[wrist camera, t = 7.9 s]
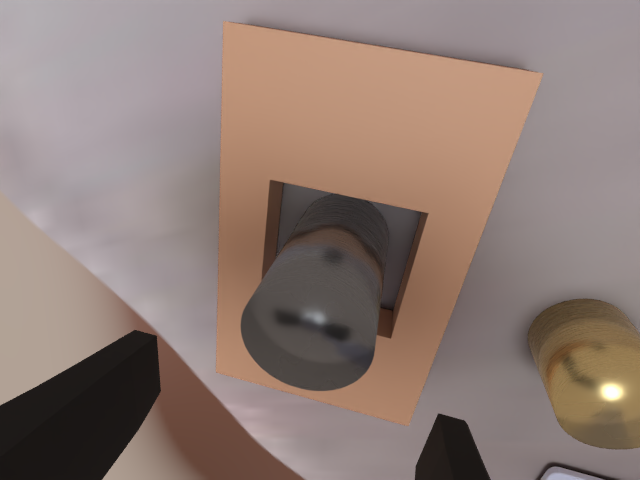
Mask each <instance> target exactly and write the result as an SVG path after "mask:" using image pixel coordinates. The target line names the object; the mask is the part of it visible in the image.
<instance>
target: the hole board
mask: <svg viewBox="0 0 640 480" xmlns="http://www.w3.org/2000/svg"><path fill="white" fill-rule="evenodd" d="M542 76H543V73H538V72H534V71H529V70H525V69H518V68H512V67H506V66H500V65H494V64H488V63H482V62H476V61H469V60H463V59H457V58H451V57H445V56H439V55H433V54H427V53H420V52H414V51H408V50H402V49H396V48H390V47H384V46H378V45H372V44H365V43H359V42H353V41H347V40H341V39H335V38H329V37H323V36H316V35H310V34H304V33H298V32H292V31H286V30H280V29H274V28H268V27H261V26H255V25H249V24H242V23H234V22H226V21H223V60H222V108H221V156H220V205H219V253H218V302H217V350H216V373H220V374H224V375H227V376H231V377H234V378H238V379H241V380H245V381H249V382H252V383H256V384H259V385H263V386H266V387H270V388H274V389H277V390H281V391H284V392H288V393H291V394H295V395H299V396H302V397H306V398H309V399H313V400H316V401H320V402H323V403H327V404H331V405H334V406H338V407H341V408H345V409H348V410H352V411H356V412H359V413H363V414H366V415H370V416H373V417H377V418H381V419H384V420H388V421H391V422H395V423H398V424H402V425H406V426H409V423H410V421H411V418H412V415H413V413H414V410H415V408H416V405H417V402H418V400H419V397H420V395H421V392H422V389H423V387H424V384H425V382H426V379H427V376H428V374H429V371H430V369H431V366H432V363H433V361H434V358H435V355H436V353H437V350H438V348H439V345H440V342H441V340H442V337H443V335H444V332H445V329H446V327H447V324H448V322H449V319H450V316H451V314H452V311H453V309H454V306H455V303H456V301H457V298H458V295H459V293H460V290H461V288H462V285H463V282H464V280H465V277H466V275H467V272H468V269H469V267H470V264H471V262H472V259H473V256H474V254H475V251H476V249H477V246H478V243H479V241H480V238H481V235H482V233H483V230H484V228H485V225H486V222H487V220H488V217H489V215H490V212H491V209H492V207H493V204H494V202H495V199H496V196H497V194H498V191H499V189H500V186H501V183H502V181H503V178H504V175H505V173H506V170H507V168H508V165H509V162H510V160H511V157H512V155H513V152H514V149H515V147H516V144H517V142H518V139H519V136H520V134H521V131H522V129H523V126H524V123H525V121H526V118H527V115H528V113H529V110H530V108H531V105H532V102H533V100H534V97H535V95H536V92H537V89H538V87H539V84H540V82H541V79H542ZM283 182H284V183H289V184H293V185H298V186H303V187H307V188H312V189H317V190H321V191H326V192H331V193H336V194H340V195H345V196H350V197H354V198H359V199H364V200H369V201H373V202H378V203H383V204H387V205H392V206H397V207H401V208H406V209H411V210H416V211H420V212H422V213H421V217H420V220H419V224H418V227H417V230H416V234H415V237H414V241H413V244H412V248H411V251H410V254H409V258H408V261H407V265H406V268H405V272H404V275H403V278H402V282H401V285H400V289H399V292H398V296H397V299H396V303H395V306H394V309H393V311H391V310H387V309H383V308H380V312H379V320H378V329H377V337H376V345H375V352H374V358H373V361H372V363H371V365H370V367H369V369H368V370H367V372H366V373H365V374H364V375H363V376H362V377H361V378H360V379H359V380H357V381H356V382H354V383H352V384H350V385H348V386H346V387H343V388H340V389H336V390H330V391H311V390H305V389H300V388H296V387H293V386H290V385H288V384H285V383H283V382H281V381H279V380H277V379H276V378H274V377H272V376H271V375H269V374H268V373H267V372H266V371H264V370H263V369H262V368H261V367H260V366H259V365H258V364H257V363H256V362H255V361H254V360H253V358H252V357H251V355H250V354H249V352H248V351H247V349H246V347H245V345H244V342H243V339H242V335H241V326H240V325H241V317H242V313H243V310H244V308H245V306H246V304H247V303H248V301H249V300H250V298H251V297H252V295H253V294H254V292H255V290H256V289H257V287H258V286H259V284H260V283H261V281H262V279H263V278H264V276H265V275H266V273H267V272H268V270H269V268H270V267H271V265H272V264H273V262H274V261H275V258H276V249H277V239H278V229H279V219H280V209H281V200H282V190H283Z"/></svg>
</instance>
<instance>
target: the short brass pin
mask: <svg viewBox="0 0 640 480" xmlns="http://www.w3.org/2000/svg"><path fill="white" fill-rule="evenodd" d="M528 344H529V347H530V350H531V352H532V355H533V358H534V360H535V363H536V365H537V368H538V371H539V373H540V376H541V378H542V381H543V384H544V386H545V389H546V391H547V394H548V397H549V399H550V402H551V404H552V407H553V410H554V412H555V415H556V418H557V420H558V422H559V424H560V426H561V427H562V428H563V430H564V431H565V432H567V433H568V434H569V435H570V436H572V437H573V438H575V439H577V440H578V441H580V442H583V443H585V444H588V445H591V446H595V447H599V448H606V449H633V448H639V447H640V333H639V332H638V331H637V329H636V328H635V327H634V326H633V324H632V323H631V322H630V321H629V319H628V318H627V317H626V315H625V314H624V313H623V312H622V311H621V310H619V309H618V308H617V307H615V306H613V305H611V304H609V303H606V302H603V301H600V300H594V299H574V300H569V301H564V302H561V303H558V304H556V305H553V306H551V307H550V308H548V309H546V310H545V311H543V312H542V313H541V314H540V315H539V316H537V318H536V319H535V320H534V321H533V323H532V325H531V327H530V329H529V332H528Z"/></svg>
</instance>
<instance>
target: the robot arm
mask: <svg viewBox="0 0 640 480" xmlns="http://www.w3.org/2000/svg"><path fill="white" fill-rule="evenodd" d="M160 391H161V389H160V376H159V362H158V348H157V336H155V335H152V334H148V333H144V332H141V331H137V330H134V331H132V332H131V333H129V334H127V335H125V336H124V337H122V338H120V339H118V340H117V341H115V342H113V343H112V344H110V345H108V346H106V347H105V348H103V349H101V350H100V351H98V352H96V353H95V354H93V355H91V356H89V357H88V358H86V359H84V360H82V361H81V362H79V363H77V364H76V365H74V366H72V367H70V368H69V369H67V370H65V371H63V372H62V373H60V374H58V375H56V376H54V377H53V378H51V379H49V380H47V381H46V382H44V383H42V384H40V385H39V386H37V387H35V388H33V389H31V390H29V391H27V392H25V393H23V394H21V395H20V396H17V397H16V398H14V399H12V400H10V401H8V402H6V403H4V404H2V405H1V406H0V480H102V479H103V477H104V476H105V475H106V473H107V472H108V471H109V469H110V468H111V467H112V465H113V464H114V463H115V461H116V460H117V459H118V457H119V456H120V454H121V453H122V452H123V450H124V449H125V448H126V446H127V445H128V443H129V442H130V441H131V439H132V438H133V436H134V435H135V434H136V432H137V431H138V430H139V428H140V426H141V425H142V423H143V421H144V420H145V418H146V416H147V414H148V413H149V411H150V409H151V408H152V406H153V404H154V402H155V400H156V399H157V397H158V395H159V393H160ZM415 480H491V479H490V477H489V475H488V472H487V470H486V468H485V466H484V463H483V461H482V459H481V456H480V454H479V451H478V449H477V447H476V444H475V442H474V439H473V437H472V434H471V432H470V429H469V427H468V425H467V423H466V422H465V421H464V420H460V419H457V418H453V417H449V416H446V415H442V414H439V413H438V416H437V418H436V420H435V423H434V425H433V427H432V430H431V432H430V434H429V437H428V439H427V441H426V444H425V446H424V448H423V451H422V453H421V455H420V458H419V460H418V462H417V465H416V471H415ZM541 480H604V479H600V478H597V477H593V476H590V475H586V474H583V473H579V472H575V471H572V470H568V469H565V468H561V467H551V468H549V469H548V470H547V471H546V472H545V474H544V475H543V477H542V478H541Z"/></svg>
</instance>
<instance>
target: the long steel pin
mask: <svg viewBox="0 0 640 480" xmlns="http://www.w3.org/2000/svg"><path fill="white" fill-rule="evenodd" d="M388 240H389V237H388V228H387V225H386V222H385V220H384V218H383V217H382V215H381V214H380V212H379V211H378V210H377V209H376V208H375V207H374V206H373V205H372V204H370V203H369V202H367V201H366V200H364V199H359V198H354V197H350V196H345V195H340V194H333V195H329V196H325V197H323V198H321V199H319V200H317V201H316V202H314V203H313V204H312V205H311V206H310V207H309V208H308V209H307V211H306V212H305V214H304V215H303V217H302V218H301V220H300V222H299V223H298V225H297V226H296V228H295V229H294V231H293V232H292V234H291V236H290V237H289V239H288V240H287V242H286V243H285V245H284V247H283V248H282V250H281V251H280V253H279V254H278V256H277V258H276V259H275V261H274V262H273V264H272V265H271V267H270V268H269V270H268V272H267V273H266V275H265V276H264V278H263V279H262V281H261V283H260V284H259V286H258V287H257V289H256V290H255V292H254V294H253V295H252V297H251V298H250V300H249V301H248V303H247V304H246V306H245V308H244V310H243V313H242V317H241V325H240V326H241V335H242V339H243V342H244V345H245V347H246V349H247V351H248V352H249V354H250V355H251V357H252V358H253V360H254V361H255V362H256V363H257V364H258V365H259V366H260V367H261V368H262V369H263V370H264V371H266V372H267V373H268V374H269V375H271V376H272V377H274V378H276V379H277V380H279V381H281V382H283V383H285V384H288V385H290V386H293V387H296V388H300V389H305V390H311V391H330V390H336V389H340V388H343V387H346V386H348V385H350V384H352V383H354V382H356V381H357V380H359V379H360V378H361V377H362V376H363V375H364V374H365V373H366V372H367V370H368V369H369V367H370V365H371V363H372V361H373V358H374V352H375V345H376V337H377V329H378V320H379V312H380V304H381V296H382V288H383V280H384V272H385V264H386V256H387V248H388Z"/></svg>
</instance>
